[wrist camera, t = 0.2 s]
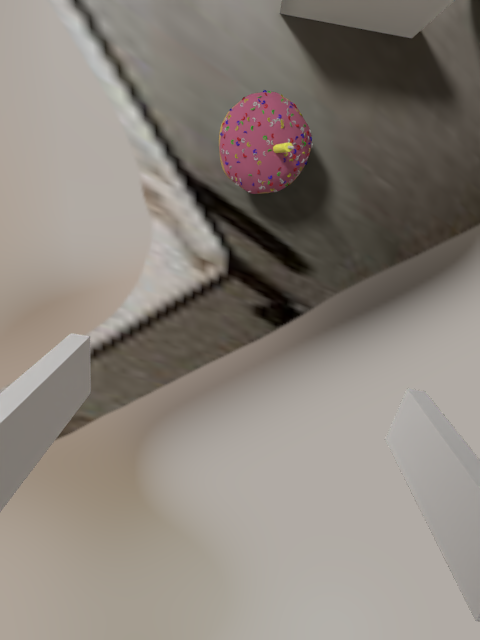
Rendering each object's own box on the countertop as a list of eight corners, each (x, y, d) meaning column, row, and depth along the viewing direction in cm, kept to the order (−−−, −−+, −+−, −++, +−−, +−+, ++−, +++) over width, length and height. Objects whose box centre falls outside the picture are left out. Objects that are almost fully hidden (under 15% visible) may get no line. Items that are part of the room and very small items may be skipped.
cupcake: (316, 119, 34) (345, 91, 23) (286, 203, 37) (300, 214, 26) (235, 90, 33) (226, 47, 22) (212, 178, 37) (195, 179, 26)
